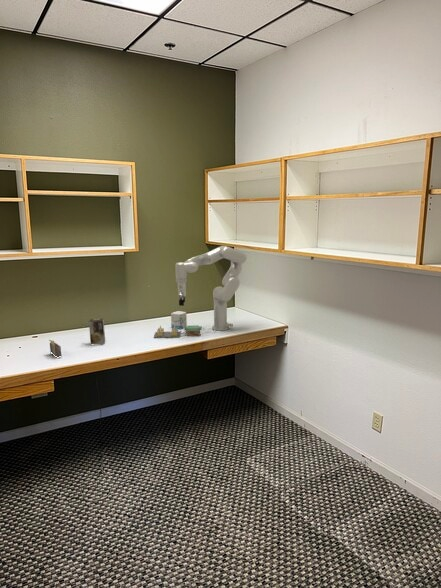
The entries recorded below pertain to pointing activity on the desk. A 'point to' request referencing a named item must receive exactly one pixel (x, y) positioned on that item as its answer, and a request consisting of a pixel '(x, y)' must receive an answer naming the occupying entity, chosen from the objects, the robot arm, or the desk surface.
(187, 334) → the block
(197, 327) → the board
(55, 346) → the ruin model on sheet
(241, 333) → the desk surface
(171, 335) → the chassis
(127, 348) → the desk surface
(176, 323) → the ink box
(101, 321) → the coffee box
